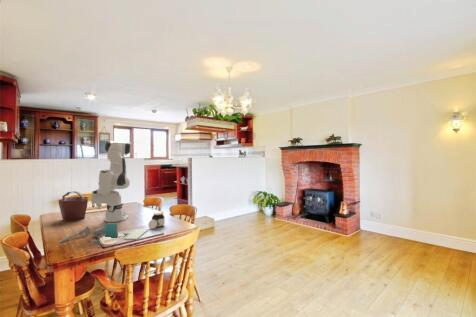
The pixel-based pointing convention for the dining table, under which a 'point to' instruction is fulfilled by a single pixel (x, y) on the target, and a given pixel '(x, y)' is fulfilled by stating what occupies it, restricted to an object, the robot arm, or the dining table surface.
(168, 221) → the dining table surface
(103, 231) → the pusher bar
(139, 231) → the tool board
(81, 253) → the dining table surface
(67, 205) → the bucket
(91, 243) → the mat
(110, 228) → the tile
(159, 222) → the spread jar
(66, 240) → the caliper
